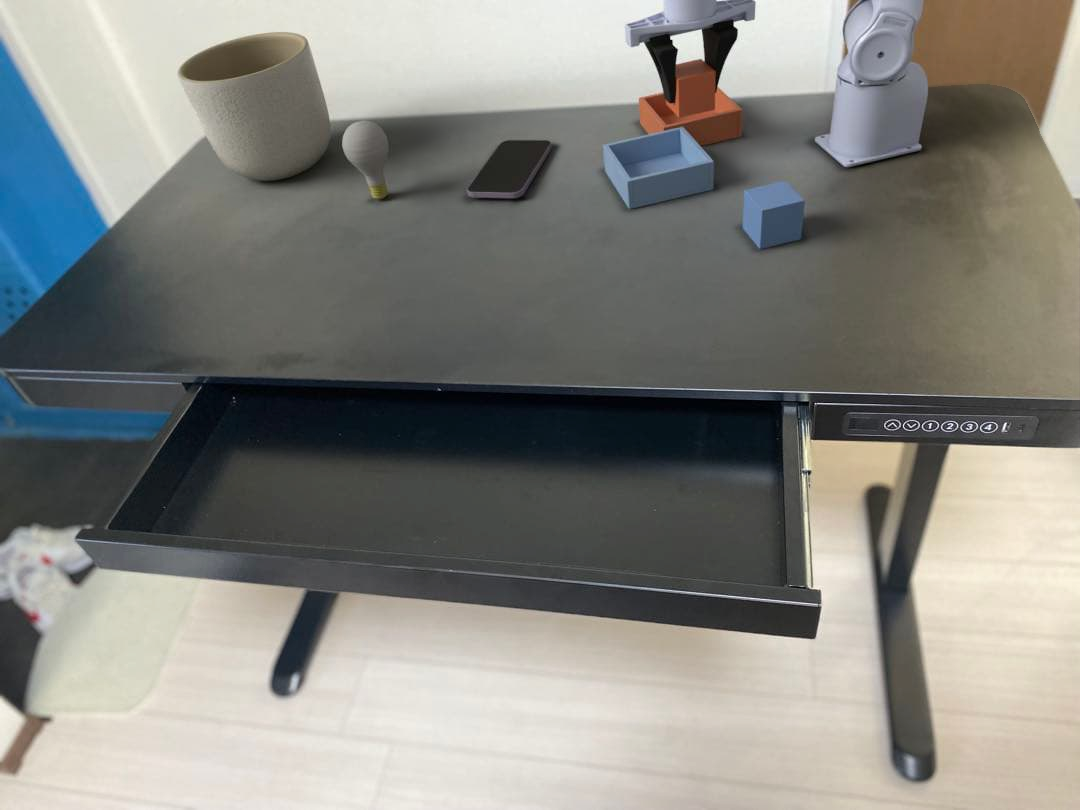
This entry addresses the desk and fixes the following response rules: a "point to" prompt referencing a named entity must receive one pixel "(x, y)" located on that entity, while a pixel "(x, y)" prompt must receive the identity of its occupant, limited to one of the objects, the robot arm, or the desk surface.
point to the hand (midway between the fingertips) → (690, 95)
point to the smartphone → (510, 169)
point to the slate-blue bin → (658, 167)
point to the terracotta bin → (693, 119)
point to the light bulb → (368, 153)
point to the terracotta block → (693, 88)
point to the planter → (260, 104)
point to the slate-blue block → (773, 214)
